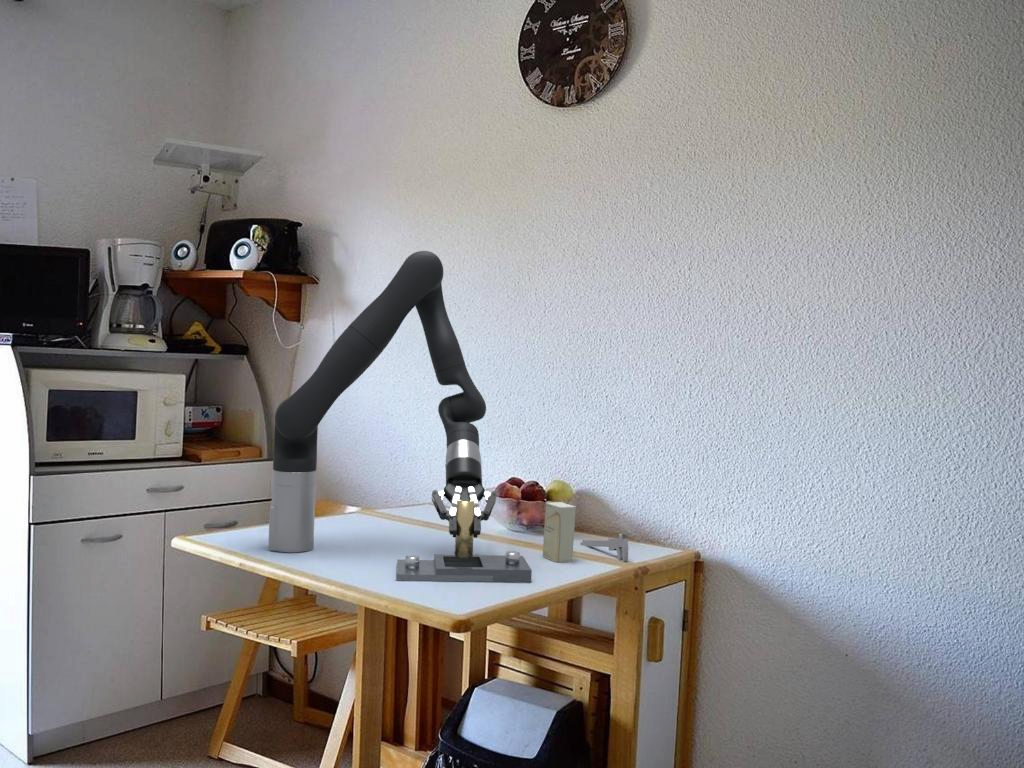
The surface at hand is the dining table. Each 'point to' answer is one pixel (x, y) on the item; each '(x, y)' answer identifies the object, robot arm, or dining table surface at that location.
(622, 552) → the caliper
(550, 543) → the skincare box
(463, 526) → the pin
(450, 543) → the dining table surface
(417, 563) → the chain end lower
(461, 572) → the chain end upper
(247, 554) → the dining table surface
